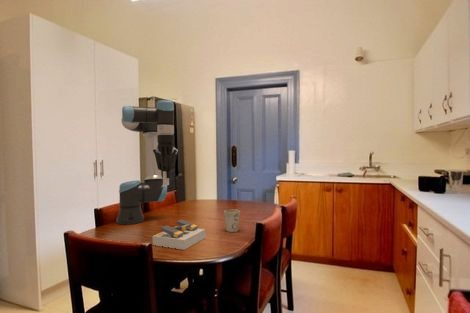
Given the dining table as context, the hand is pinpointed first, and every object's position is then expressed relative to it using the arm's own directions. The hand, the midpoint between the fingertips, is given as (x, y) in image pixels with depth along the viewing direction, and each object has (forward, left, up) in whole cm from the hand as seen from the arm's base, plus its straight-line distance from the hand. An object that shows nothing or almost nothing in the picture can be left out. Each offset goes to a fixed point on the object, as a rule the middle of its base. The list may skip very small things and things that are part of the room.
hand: (166, 185), depth 137 cm
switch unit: (+9, -2, -25) cm, 26 cm away
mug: (+22, +25, -25) cm, 41 cm away
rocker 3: (+9, +4, -19) cm, 21 cm away
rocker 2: (+9, -2, -19) cm, 21 cm away
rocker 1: (+9, -8, -19) cm, 22 cm away
